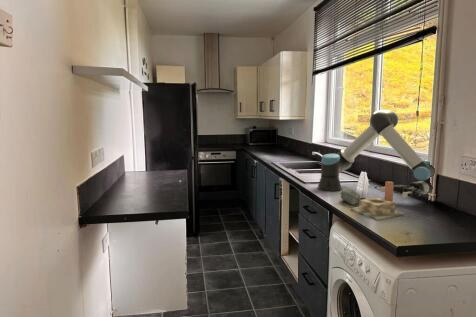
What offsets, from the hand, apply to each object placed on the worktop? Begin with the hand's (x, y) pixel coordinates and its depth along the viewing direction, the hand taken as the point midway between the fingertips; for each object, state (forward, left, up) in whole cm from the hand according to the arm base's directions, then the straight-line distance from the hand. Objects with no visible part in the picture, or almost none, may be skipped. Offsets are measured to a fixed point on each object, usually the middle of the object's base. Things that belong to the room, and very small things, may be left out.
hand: (391, 192), depth 174 cm
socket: (+3, -14, -8) cm, 17 cm away
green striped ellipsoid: (-17, -13, -9) cm, 23 cm away
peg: (-1, -1, -8) cm, 8 cm away
